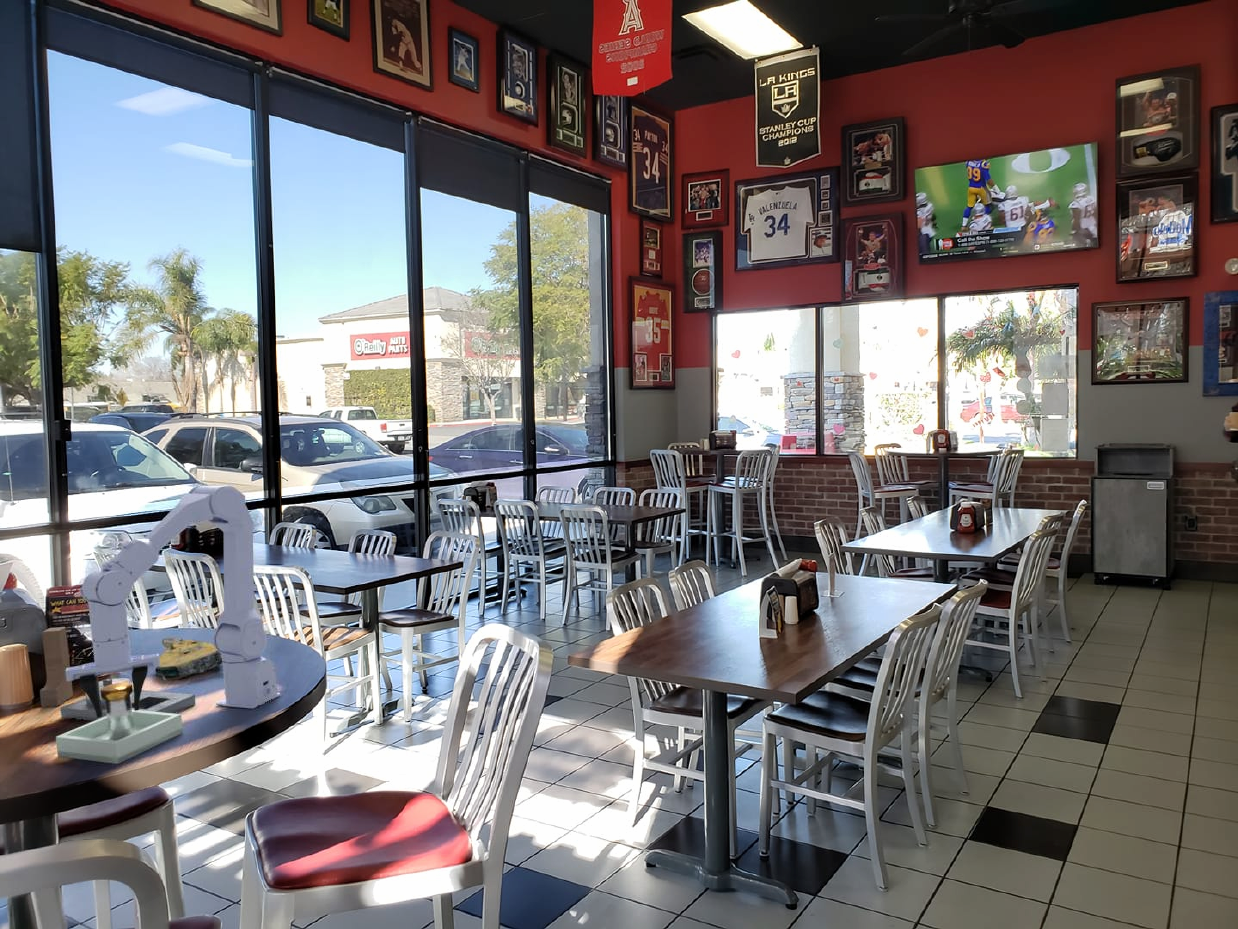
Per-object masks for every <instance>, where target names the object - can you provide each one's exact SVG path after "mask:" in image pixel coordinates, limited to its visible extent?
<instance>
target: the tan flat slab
mask: <svg viewBox="0 0 1238 929" xmlns="http://www.w3.org/2000/svg"><path fill="white" fill-rule="evenodd" d="M161 645H163V646H164V647H165V648H166V649H165V650H164V652H163V653H161V655H159V659H160V666H159V667H155V670H154V671H155V673H156V675H157V678H159V679H161V680H163V681H167V680H180V679H182V678H185V677H187V676H191V675H193V674H199V673H201V674H203V673H204V672H206V671H207V670H211V669H213V668H215V667H217V666H219V665H221V664H222V665H223V663H222V658H221V652H219V651H218V650H217V649H216V648H215V647H214V644H213V643H210V642H205V641H202V640H196V639H186V640H185V639H183V638H177V637H175V638H172V637H167V638H166V637H165V638H163V639H162V640H161Z"/></svg>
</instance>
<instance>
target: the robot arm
mask: <svg viewBox="0 0 1238 929" xmlns="http://www.w3.org/2000/svg"><path fill="white" fill-rule="evenodd" d="M253 520H254V519H253V518H252V515H251V514H250V512H249V509H248V507H247V505H246V495H245V494H244V493H242V492H241V491H239V489H237V488H236V487H234V486H231V485H208V484H207V485H206V484H199V485H196V486H193V487H192V488H191V489H190V490H189V491H188V492H187V493H185V494H184V495H182V496H181V497H180V499H179V501H178V503H177V504H176V505H175V506H174V507H173V508H172V510H170V511H169V512H168V513H167V515H165V517H163V519H162V520H161V521H160V522H159V523H157V525H156V526H154V528H153V529H152V530H151V531H150V532H149V533H147V535H146V536H145V537H144V538H134V539H132V540H131V541H130V540H129V541H128V540H127V541H125V542H124V543H123V544H121V547H122V549H121V550H120V551H118V553H117V554H116V555H114V556H113V557H112V558H111V559H110V560H109V561H104V562H103V563H102V564H101V567H102V568H101V569H99V570H98V569H97V570H94V571H91V573H89V574H88V575H87V576H86V577H85V578H84V579H83V583H82V586H81V588H79V594H80V596H81V597H82V598H83V600H85V601H87V604H88V611H89V621H90V623H89V624H90V632H91V643H92V650H93V660H94V662H89V663H85V664H81V665H76V666H70V668H67V669H66V680H67V681H74V680H79V685H80V687H81V689H82V690H83V691H84V693H86V694H87V695H88V697H89V698H90V700H91V702H92V704H93V706H94V709H95V711H96V715H97V717H102V705H101V700H100V694H99V676H102V675H108V674H109V675H110V674H115V673H120V672H127V671H131V680H132V688H133V689H134V709H135V711H137V710H139V707H140V706H139V701H140V695H141V690H143V686H144V684H145V681H146V678H147V675H148V671H149V668H151V667H152V668H156V667H159V666H160V659H159V657H160V653H155V654H154V653H153V654H143V655H132V651H131V643H130V642H131V641H130V631H129V623H128V614H127V606H126V605H127V604H126V600H127V599H128V598H129V597H130V595H131V593H132V592H131V591H132V587H133V585H134V584H135V583H136V582H137V581H138V580H139V579H141V577H142V576H144V574H146V572H148V571H149V570H150V569H151V568H152V567H153V566H154V565H155V564H156V563H158V561H159V559H160V558H159V557H160V556H159V554H160V550H161V549H163V548H164V547H165V546H167V544H169V543H170V542H171V541H172V540H174V539H175V538H176V537H177V536H179V534H180V533H182V532H183V531H184V530H186V529H187V528H188V527H190V525H191V524H193V523H197V522H198V523H199V522H205V521H209V522H211V523H212V524H213V525H214V526H216V527H217V528H218V529H220V530H221V531H222V532H223V608H224V609H223V610H222V612H221V614H220V615H219V616H218V617H217V619H216V620H217V621H216V625H217V626H216V629H215V631H214V632H213V638H212V642H213V643H212V644H214V647H215V648H216V649H217V650H218V651H219V652H220V653H221V658H222V670H223V671H222V672H223V682H224V694H225V698H224V699H221V700H219V701H217V702H215V705H216V706H219V705H222V706H221V707H230V708H231V707H233V708H244V709H255V708H257V706H258V705H260V706H261V705H264V704H266V703H268V702H270V701H272V700H274V699H276V698H278V697H280V696H281V693H280V692H278V687H277V686H278V685H277V677H276V676H277V675H276V667H275V664H274V662H273V661H272V660H270V659H269V658H265V657H263V652H265V650H266V647H267V645H268V644H267V643H268V637H267V636H268V635H267V634H266V631H265V629H264V623H263V622H264V621H263V619H262V617H261V615H260V614H259V613H258V612H257V611H256V609H255V606H254V605H255V604H254V602H255V600H254V599H255V598H254V597H255V595H254V594H255V593H254V587H255V586H254V585H255V584H254V583H255V582H254V579H255V578H254V577H255V576H254V521H253ZM279 695H280V696H279ZM271 699H272V700H271ZM269 700H270V701H269ZM267 701H268V702H267ZM265 702H266V703H265ZM258 707H259V706H258Z"/></svg>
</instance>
